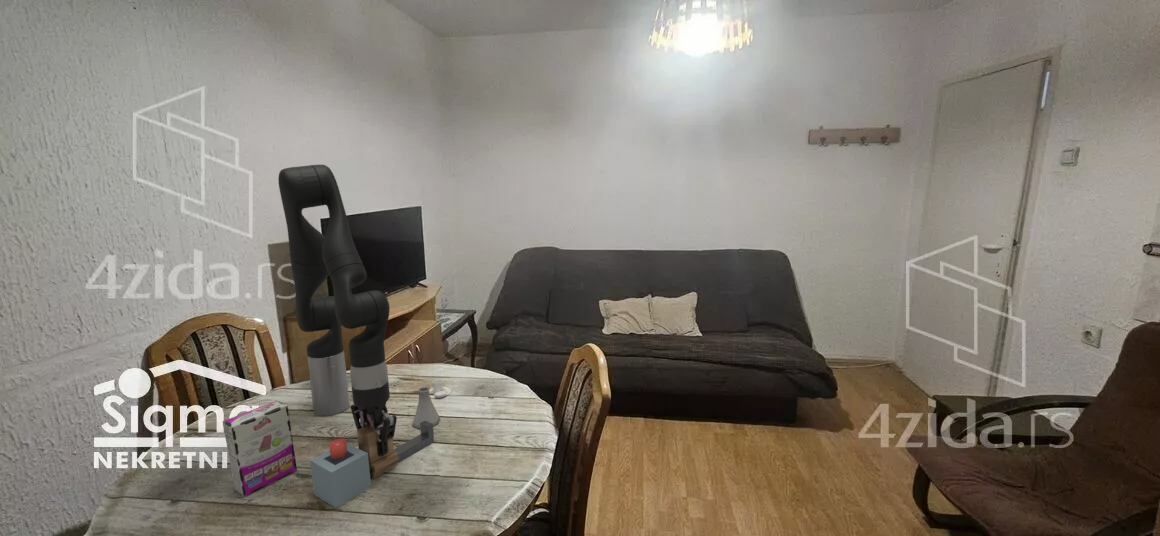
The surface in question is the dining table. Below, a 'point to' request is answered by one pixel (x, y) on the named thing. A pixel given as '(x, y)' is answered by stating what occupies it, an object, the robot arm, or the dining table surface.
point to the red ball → (338, 449)
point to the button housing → (340, 476)
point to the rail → (415, 442)
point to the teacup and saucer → (439, 389)
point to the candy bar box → (260, 447)
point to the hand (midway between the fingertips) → (376, 451)
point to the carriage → (376, 451)
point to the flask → (425, 409)
